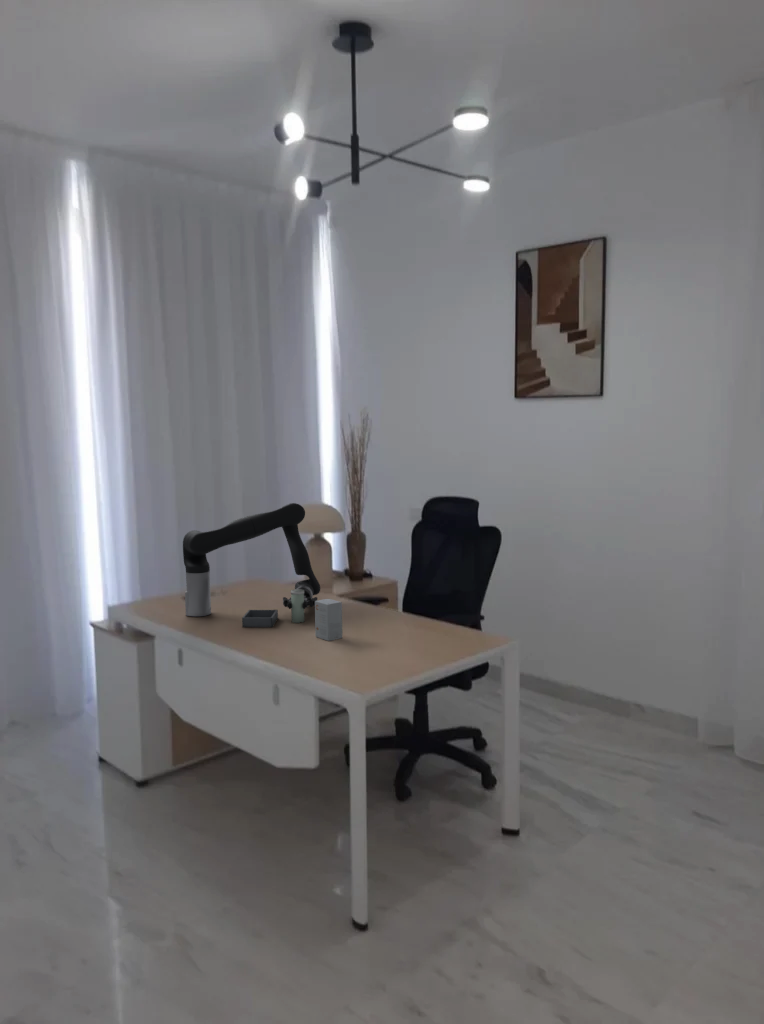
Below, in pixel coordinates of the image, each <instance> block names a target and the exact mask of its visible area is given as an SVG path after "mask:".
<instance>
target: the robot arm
mask: <svg viewBox="0 0 764 1024" xmlns="http://www.w3.org/2000/svg"><path fill="white" fill-rule="evenodd" d="M305 516H306V511H305V508H304V507H303V506H302V505H301V504H300V503H296V502H293V503H292V502H291V503H288V504H286V505H284V506H282V507H280V508H277V509H275V510H272V511H266V512H261V513H256V514H252V515H247V516H244V517H240V518H237V519H235V520H233V521H231V522H229V523H227V524H226V525H224V526H222V527H221V528H217V529H213V530H208V531H200V530H195V529H194V530H190V531H188V532H186V534H185V535H184V537H183V540H182V557H183V558H182V559H183V564H184V567H185V568H184V569H185V584H186V585H185V586H186V587H185V588H186V591H184V602H185V604H184V605H185V616H186V617H187V616H189V617H205V616H209V615H211V614H212V605H211V604H212V602H211V600H212V599H211V597H212V596H211V574H210V573H211V572H210V570H211V569H210V566H211V565H210V563H209V562H208V559H207V554H209V553H211V552H213V551H216V550H218V549H221V548H223V547H225V546H229V545H234V544H238V543H243V542H246V541H248V540H252V539H255V538H258V537H260V536H262V535H265V534H268V533H270V532H272V531H274V530H276V529H279V528H282V530H283V533H284V536H285V538H286V541H287V544H288V548H289V550H290V556H291V559H292V563H293V568H294V572H295V574H296V575H297V576H307V577H308V579H305V580H299V581H298V582H296V583H295V585H294V589H302V590H304V602H303V609H304V610H306V608H308V607H310V608H312V607H315V601H318V597H317V595H319V594H320V593H321V584H320V582H319V580H318V579H317V577H316V574H315V573H314V571H313V568H312V564H311V561H310V555H309V552H308V550H307V548H306V546H305V543H304V542H303V540H302V538H301V535H300V532H299V524H300V523H302V522H303V520H304V519H305ZM314 596H315V597H314ZM282 605H283V607H284V608H288V609H289V610H291V597H289V598H288V597H286V596H283V597H282Z"/></svg>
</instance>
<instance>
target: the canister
mask: <svg viewBox="0 0 764 1024" xmlns="http://www.w3.org/2000/svg"><path fill="white" fill-rule="evenodd" d="M290 594H291V595H290V598H291V609H290V610H291V623H293V622H294V624H301V623H300V622H302V623H304V622H305V609H303V602H304V590H302V589H295V588H293V589H291V590H290Z"/></svg>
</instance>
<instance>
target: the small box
mask: <svg viewBox="0 0 764 1024" xmlns="http://www.w3.org/2000/svg"><path fill="white" fill-rule="evenodd" d="M314 626H315V627H314V631H315V632H314V633H315V634H314V635H315V636H316V638H319V639H321V640H325V641H326V642H331V641H335V639H336V640H340V639H343V601H340V600H335V599H332V598H324V599H319V600H318V599H317V601H315V606H314Z"/></svg>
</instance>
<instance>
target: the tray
mask: <svg viewBox="0 0 764 1024" xmlns="http://www.w3.org/2000/svg"><path fill="white" fill-rule="evenodd" d="M278 613H279V612H278V609H248V610H247V611H246V613H244V615H243V616H242V617H241V627H242V628H273V627H274V626H275V624H276V623H277V621H278V620H279V617H278V616H279V614H278ZM276 620H277V621H276Z"/></svg>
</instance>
